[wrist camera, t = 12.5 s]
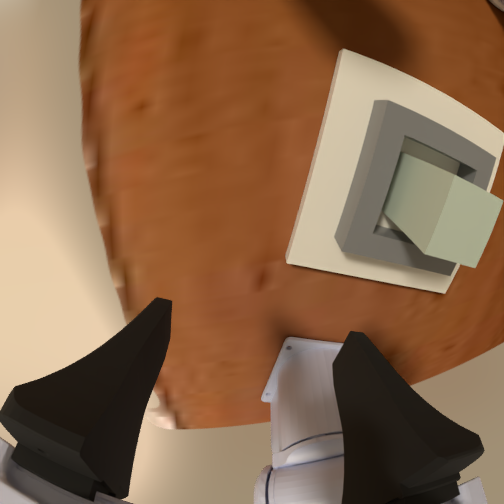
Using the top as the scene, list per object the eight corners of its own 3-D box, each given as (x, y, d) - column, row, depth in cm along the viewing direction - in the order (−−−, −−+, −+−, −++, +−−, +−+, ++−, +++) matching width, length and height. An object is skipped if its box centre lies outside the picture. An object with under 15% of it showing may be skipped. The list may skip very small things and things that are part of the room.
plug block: (427, 224, 18) (475, 268, 12) (380, 210, 17) (424, 254, 12) (446, 171, 16) (503, 200, 11) (399, 151, 16) (454, 174, 10)
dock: (439, 287, 21) (456, 307, 19) (285, 255, 20) (288, 279, 18) (497, 132, 15) (522, 139, 12) (338, 51, 14) (353, 41, 11)
